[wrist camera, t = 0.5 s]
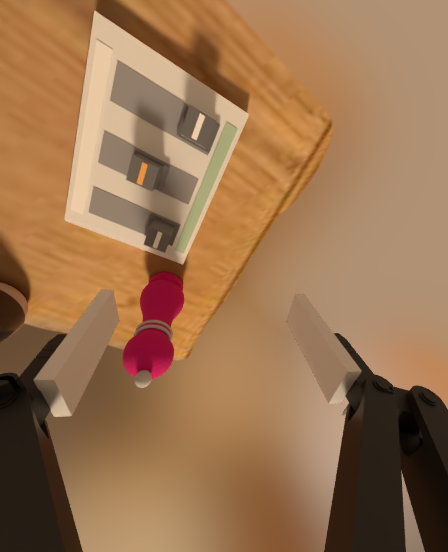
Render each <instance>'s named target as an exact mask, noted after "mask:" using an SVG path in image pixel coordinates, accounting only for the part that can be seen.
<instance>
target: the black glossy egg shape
mask: <svg viewBox="0 0 448 552" xmlns="http://www.w3.org/2000/svg"><path fill="white" fill-rule="evenodd" d="M27 311H28V304H27V301H26V299H25V297H24V296H23V295H22V293H21V292H19V291H18V290H17V289H15V288H14V287H12V286H10V285H7V284H4V283H0V343H1V342H2V341H4V340H5V339H7V338H8V337H9V336H10V335H12V334H13V333H14V332H16V331H17V330H18V329H19V328H20V327H21V326H22V325H23V323H24V321H25V317H26V315H27Z"/></svg>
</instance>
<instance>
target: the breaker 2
mask: <svg viewBox="0 0 448 552" xmlns="http://www.w3.org/2000/svg"><path fill="white" fill-rule="evenodd" d="M215 123H216V120H214V119H213V118H211V117H209V116H208V115H206V114H205V113H203V112H201V111H200V110H198V109H197V108H195V107H193V106H192V105H190V106H189V107H188V106H186V107H185V110H184V113H183V116H182V119H181V123H180V126H179V129H178V132H177V136H179V137H181V138H183V139H184V140H186V141H188V142H190V143H191V144H193V145H195V146H197V147H198V148H200V149H202V150H204V151H205V152H207V153H209V152H210V150H211V147H212V145H213V142H214V140H215V137H216V135H217V132H218V130H219V127H220V126H218V125H217V124H215Z"/></svg>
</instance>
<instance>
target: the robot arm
mask: <svg viewBox="0 0 448 552" xmlns="http://www.w3.org/2000/svg"><path fill="white" fill-rule="evenodd" d="M118 322H119V317H118V312H117V307H116V302H115V297H114V292H113V290H102V289H101V290H100V292H99V293H98V294H97V296H96V297H95V298H94V300H93V301H92V302H91V304H90V305H89V306H88V308H87V309H86V310H85V312H84V313H83V314H82V316H81V317H80V318H79V320H78V321H77V322H76V324H75V325H74V326H73V328H72V329H71V330H70V332H69V333H68V334H58V335H57V336H56V337H54V338H53V339H51V340H50V341H48V343H47V344H46V345H45V347H44V348H43V349H42V351H41V352H39V354H38V355H37V356H36V358H34V360H33V361H32V362H31V363H30V365H29V366H28V367H27V369H25V371H24V372H23V373H22V374H21V376H20V377H18V376H17V374H15V373H4V374H0V552H83V551H82V547H81V544H80V540H79V537H78V533H77V529H76V526H75V522H74V519H73V515H72V511H71V508H70V504H69V500H68V497H67V494H66V490H65V486H64V482H63V479H62V475H61V472H60V468H59V465H58V461H57V457H56V454H55V450H54V446H53V443H52V439H51V436H50V432H49V429H48V425H47V422H46V420H45V418H46V416H47V415H48V413H49V411H50V410H51V412H52V414H53V416H54V417H60V416H72V414H73V412H74V410H75V409H76V406H77V405H78V403H79V400H80V398H81V396H82V394H83V392H84V390H85V388H86V386H87V384H88V382H89V380H90V378H91V376H92V374H93V372H94V370H95V368H96V366H97V364H98V362H99V360H100V358H101V356H102V354H103V352H104V350H105V348H106V346H107V344H108V342H109V340H110V338H111V336H112V334H113V332H114V330H115V328H116V326H117V324H118ZM287 323H288V325H289V327H290V329H291V331H292V333H293V335H294V337H295V339H296V341H297V343H298V345H299V347H300V349H301V351H302V353H303V354H304V357H305V358H306V360H307V362H308V364H309V366H310V368H311V370H312V372H313V374H314V376H315V378H316V380H317V382H318V384H319V386H320V388H321V390H322V391H323V393H324V395H325V397H326V399H327V401H328V403H329V404H331V403H342V401H343V400H344V398H345V397H346V398H347V400H348V401H349V404H348V406H347V407H346V409H345V410H344V412H343V415H345V414H346V418H345V425H344V430H343V437H342V443H341V450H340V456H339V462H338V468H337V474H336V481H335V487H334V493H333V500H332V506H331V512H330V518H329V525H328V531H327V537H326V544H325V550H324V552H406V547H405V532H404V531H405V529H404V512H403V494H402V478H401V470H402V474H403V477H404V481H405V484H406V487H407V491H408V494H409V498H410V501H411V505H412V508H413V512H414V515H415V519H416V522H417V525H418V529H419V532H420V536H421V539H422V543H423V546H424V550H425V552H448V409H447V408H446V406H445V404H444V403H443V402H442V400H441V399H440V398H439V397H438V396H437V395H436V394H435V393H433V392H432V391H430V390H429V389H427V388H424V387H422V386H413V387H412V388H411V389H410V390H409V391H408V390H404V389H400V388H397V387H393V385H392V384H391V383H390V382H388V381H387V380H386V379H384V378H383V377H381V376H378V375H374V374H373V372H372V371H371V370H370V369H369V367H368V366H367V365H366V364H365V362H364V361H363V360H362V358H361V357H360V356H359V355H358V353H356V351H355V350H354V348H353V347H352V346H351V345H350V343H349V342H348V341H347V340H346V339H345V338H344V337H343V336H341V335H340V334H339V333H333V332H332V331H331V329H330V328H329V327H328V325H327V324H326V323H325V321H324V320H323V319H322V317H321V316H320V315H319V313H318V312H317V310H316V309H315V308H314V306H313V305H312V304H311V302H310V301H309V300H308V298H307V297H306V296H305V295H304V294H295V296H294V299H293V302H292V306H291V309H290V312H289V315H288V318H287Z"/></svg>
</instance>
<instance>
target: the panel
mask: <svg viewBox="0 0 448 552" xmlns="http://www.w3.org/2000/svg"><path fill="white" fill-rule="evenodd" d="M190 105H192V106H193V107H195V108H197V109H198V110H200V111H201V112H203V113H205V114H206V115H208V116H209V117H211V118H213V119H214V120H216V123H215V124H217V125H218V126H220V127H219V130H218V132H217V135H216V137H215V140H214V142H213V145H212V147H211V150H210V152H209V153H207V152H205V151H204V150H202V149H200V148H198V147H197V146H195V145H193V144H191V143H190V142H188V141H186V140H184V139H183V138H181V137H179V136H177V132H178V129H179V126H180V123H181V119H182V116H183V113H184V110H185V107H186V106H188V107H189V106H190ZM248 116H249V114H248V113H246V112H245V111H243V110H242V109H240V108H239V107H237V106H236V105H234V104H233V103H231V102H230V101H228V100H227V99H225V98H224V97H222V96H221V95H219V94H218V93H216V92H215V91H213V90H212V89H211V88H209V87H208V86H206V85H205V84H203V83H202V82H200V81H199V80H197V79H196V78H194V77H193V76H191V75H190V74H188V73H187V72H185V71H184V70H182V69H181V68H179V67H178V66H176V65H175V64H173V63H172V62H170V61H169V60H167V59H166V58H164V57H163V56H161V55H160V54H158V53H157V52H155V51H154V50H152V49H151V48H150V47H148V46H147V45H145V44H144V43H142V42H141V41H139V40H138V39H136V38H135V37H133V36H132V35H130V34H129V33H127V32H126V31H124V30H123V29H121V28H120V27H118V26H117V25H115V24H114V23H112V22H111V21H109V20H108V19H106V18H105V17H103V16H102V15H100V14H99V13H97V12H96V11H94V17H93V24H92V31H91V38H90V45H89V52H88V59H87V66H86V73H85V80H84V87H83V94H82V101H81V108H80V115H79V122H78V129H77V136H76V143H75V150H74V157H73V164H72V171H71V178H70V185H69V192H68V199H67V206H66V213H65V221H67V222H70V223H73V224H75V225H78V226H81V227H83V228H86V229H89V230H91V231H94V232H97V233H99V234H102V235H105V236H107V237H110V238H113V239H115V240H118V241H121V242H123V243H126V244H129V245H132V246H134V247H137V248H140V249H142V250H145V251H148V252H150V253H153V254H156V255H158V256H161V257H164V258H166V259H169V260H172V261H174V262H177V263H180V264H182V265H183V263H184V261H185V259H186V256H187V254H188V252H189V250H190V247H191V245H192V243H193V241H194V238H195V236H196V234H197V232H198V229H199V227H200V225H201V223H202V220H203V218H204V216H205V213H206V211H207V209H208V207H209V204H210V202H211V200H212V198H213V195H214V193H215V191H216V189H217V186H218V184H219V182H220V180H221V177H222V175H223V173H224V170H225V168H226V166H227V164H228V161H229V159H230V157H231V155H232V152H233V150H234V148H235V146H236V143H237V141H238V139H239V137H240V134H241V132H242V130H243V127H244V125H245V123H246V121H247V118H248ZM135 150H137V151H139V152H141V153H143V154H145V155H147V156H149V157H151V158H153V159H155V160H157V161H158V162H160V163H162V164H164V165H166V166H168V167H170V169H169V172H168V175H167V178H166V181H165V184H164V187H163V190H162V191H160V190H158V189H154V190H153V191H152V192H151V191H149V190H147V189H145V188H143V187H141V186H138V185H136V184H134V183H132V182H130V181H128V180H126V177H127V173H128V169H129V165H130V161H131V157H132V155H134V152H135ZM151 214H152V215H155V216H157V217H159V218H162V219H164V220H166V221H169V222H171V223H173V224H176V225H178V226H180V228H179V230H178V233H177V235H176V238H175V240H174V243H173V245H172V246H171V245H168V246H167V249H166V252H165V253H164V252H161V251H159V250H156V249H153V248H151V247H148V246H146V245H143V244H144V241H145V238H146V236H145V235H144V233H145V230H146V227H147V224H148V221H149V218H150V215H151Z"/></svg>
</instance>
